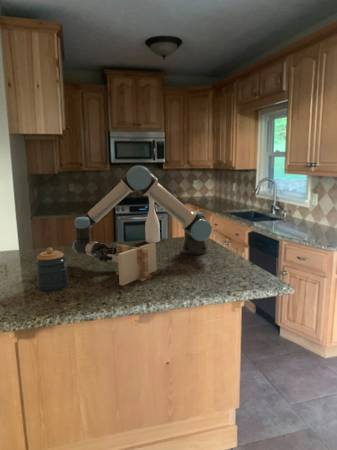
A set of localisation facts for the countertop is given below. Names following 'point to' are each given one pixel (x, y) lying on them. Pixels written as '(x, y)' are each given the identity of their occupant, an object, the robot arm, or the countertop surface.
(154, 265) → the cream board
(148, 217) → the white rounded block
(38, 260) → the canister
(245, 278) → the countertop surface
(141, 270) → the brown angled piece
